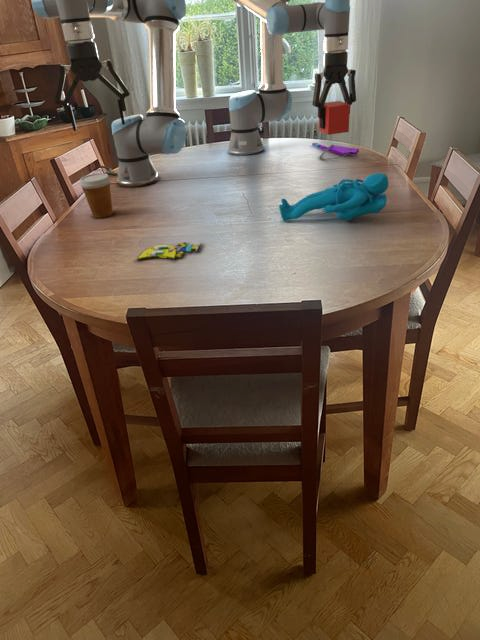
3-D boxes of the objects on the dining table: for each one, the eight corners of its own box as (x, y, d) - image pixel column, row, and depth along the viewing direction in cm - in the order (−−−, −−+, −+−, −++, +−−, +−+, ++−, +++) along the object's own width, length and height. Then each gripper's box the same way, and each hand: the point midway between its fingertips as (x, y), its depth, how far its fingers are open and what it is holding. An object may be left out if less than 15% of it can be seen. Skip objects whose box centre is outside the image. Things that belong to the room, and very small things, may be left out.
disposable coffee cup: (82, 218, 153) (72, 181, 147) (99, 208, 161) (91, 172, 154) (106, 220, 150) (97, 182, 143) (123, 210, 157) (115, 173, 151)
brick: (328, 134, 163) (328, 107, 159) (318, 130, 170) (319, 103, 165) (348, 131, 165) (350, 104, 160) (338, 127, 172) (339, 100, 167)
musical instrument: (347, 164, 184) (366, 144, 196) (347, 159, 183) (366, 139, 195) (292, 163, 197) (312, 145, 209) (291, 158, 195) (312, 140, 208)
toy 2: (282, 188, 144) (385, 161, 134) (291, 220, 149) (391, 197, 139) (274, 208, 131) (387, 180, 120) (284, 243, 136) (394, 219, 125)
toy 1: (193, 256, 121) (136, 257, 123) (194, 259, 121) (137, 260, 123) (201, 240, 129) (147, 241, 131) (201, 243, 130) (148, 244, 132)
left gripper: (29, 47, 121) (53, 135, 132) (128, 37, 125) (144, 123, 136) (33, 45, 127) (55, 130, 139) (127, 36, 131) (142, 119, 143)
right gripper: (310, 55, 149) (309, 132, 162) (370, 48, 153) (365, 124, 165) (301, 54, 155) (301, 128, 168) (359, 47, 159) (355, 120, 171)
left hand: (99, 127), depth 138 cm, fingers open, 13 cm apart
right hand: (333, 126), depth 167 cm, fingers closed on brick, 8 cm apart
